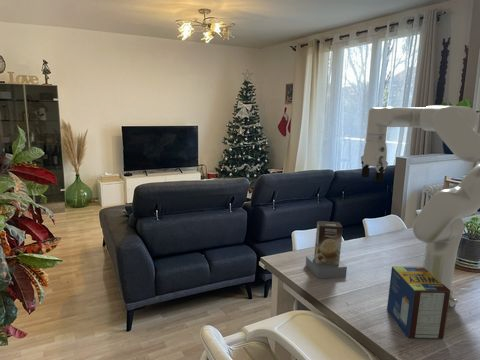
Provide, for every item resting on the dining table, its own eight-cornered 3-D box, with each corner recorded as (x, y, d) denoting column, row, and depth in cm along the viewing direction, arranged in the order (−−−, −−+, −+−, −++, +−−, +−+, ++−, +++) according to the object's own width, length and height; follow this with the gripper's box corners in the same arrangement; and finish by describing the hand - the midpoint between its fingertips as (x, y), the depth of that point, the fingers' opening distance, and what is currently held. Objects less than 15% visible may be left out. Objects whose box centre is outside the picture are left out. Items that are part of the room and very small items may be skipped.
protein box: (417, 309, 116) (423, 266, 113) (443, 339, 101) (451, 290, 97) (385, 308, 116) (391, 265, 113) (407, 338, 101) (414, 289, 97)
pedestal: (346, 276, 138) (346, 266, 137) (317, 278, 135) (318, 269, 134) (331, 263, 149) (332, 254, 148) (305, 265, 146) (306, 256, 146)
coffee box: (316, 264, 138) (319, 225, 135) (313, 257, 145) (316, 220, 141) (339, 265, 138) (343, 226, 134) (336, 258, 144) (339, 221, 141)
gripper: (397, 140, 134) (392, 183, 138) (371, 136, 151) (367, 175, 154) (380, 140, 132) (375, 184, 136) (356, 136, 149) (352, 175, 152)
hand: (371, 179), depth 145 cm, fingers open, 9 cm apart
